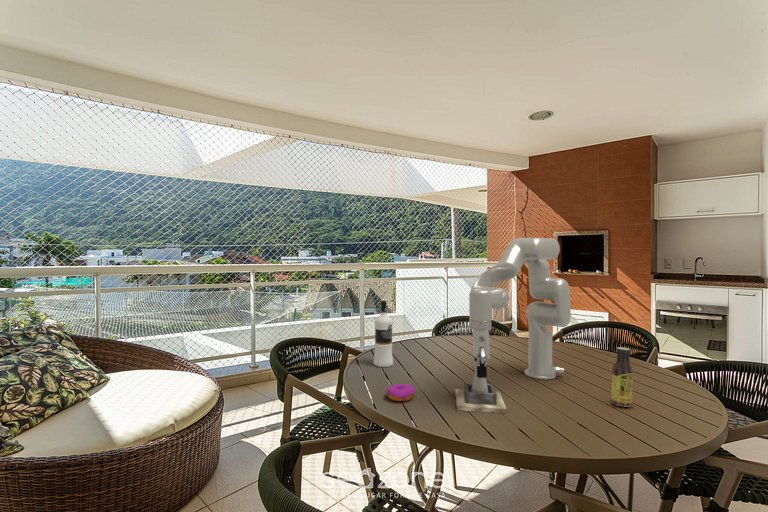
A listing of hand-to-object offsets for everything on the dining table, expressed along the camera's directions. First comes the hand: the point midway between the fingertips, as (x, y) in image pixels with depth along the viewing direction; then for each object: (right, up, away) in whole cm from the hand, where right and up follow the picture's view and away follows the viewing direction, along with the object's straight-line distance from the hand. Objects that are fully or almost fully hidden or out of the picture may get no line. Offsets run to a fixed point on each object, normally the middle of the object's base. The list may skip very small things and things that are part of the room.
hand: (480, 372), depth 136 cm
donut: (-28, -11, +4) cm, 30 cm away
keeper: (-1, -10, 0) cm, 10 cm away
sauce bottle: (+49, -11, -2) cm, 50 cm away
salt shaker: (0, -9, 0) cm, 9 cm away
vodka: (-34, -10, +44) cm, 57 cm away
